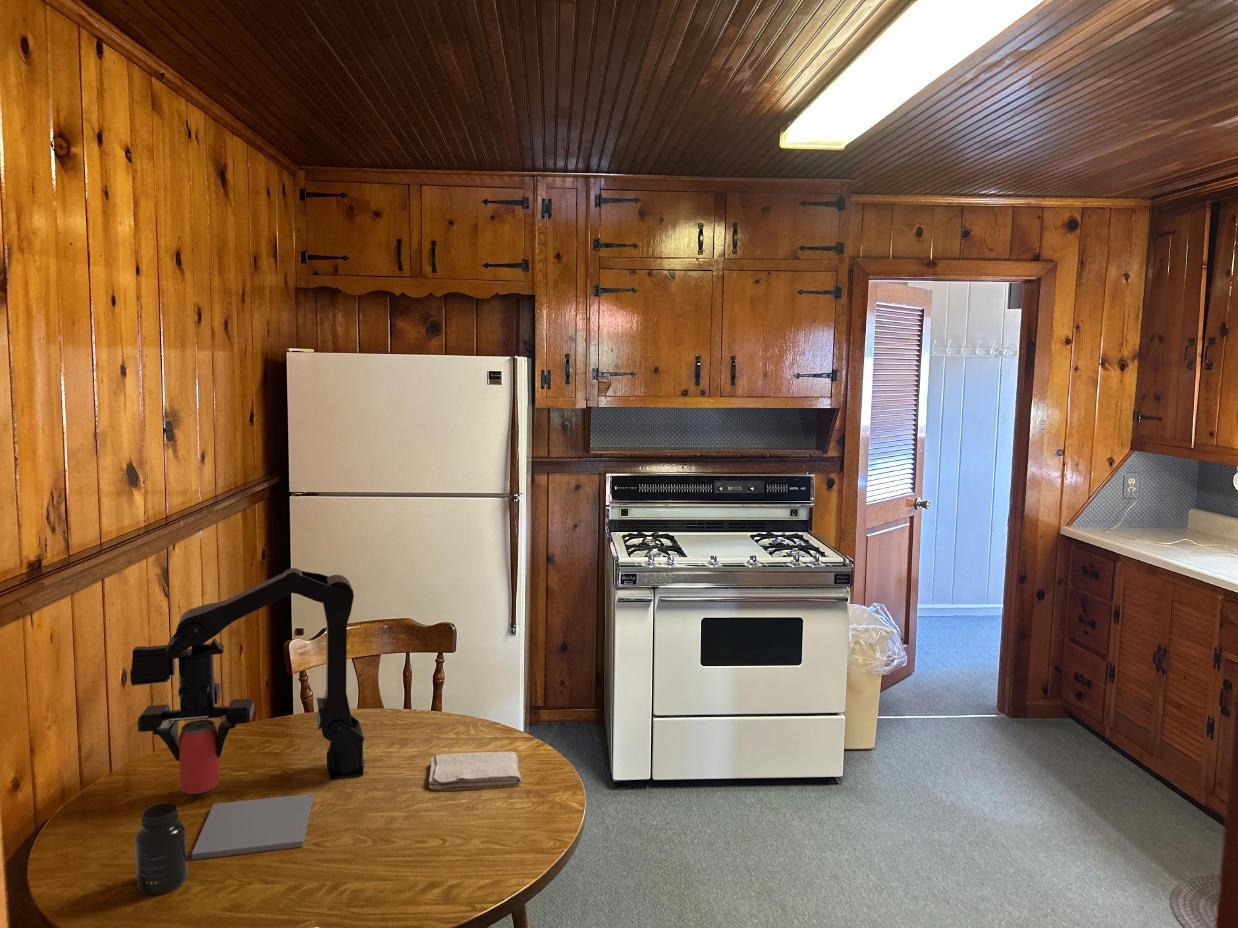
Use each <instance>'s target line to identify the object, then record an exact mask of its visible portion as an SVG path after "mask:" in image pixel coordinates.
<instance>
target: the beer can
mask: <svg viewBox="0 0 1238 928" xmlns="http://www.w3.org/2000/svg"><path fill="white" fill-rule="evenodd" d="M180 730H181V731H180V733H179V761H178V764H179V767H178V768H179V788H180V789H181V792H183V793H184V794H188V795H197V794H202V793H203V794H204V793H207V792H208V791H211V790H213V789H215V788H216V786H218V785H219V783H220V780H221V779H220V757H218V755H217V742H218V728H217V727H216V722H215V721H213V720H211V719H195V720H191V721H190V722H187V723H185V724H184V725H183V726H181V729H180Z"/></svg>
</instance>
